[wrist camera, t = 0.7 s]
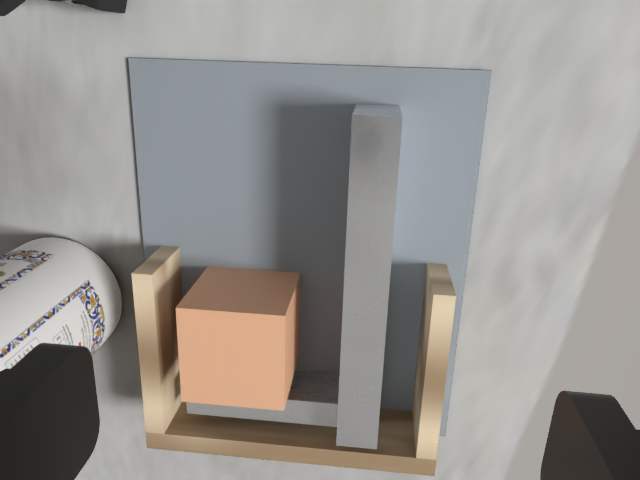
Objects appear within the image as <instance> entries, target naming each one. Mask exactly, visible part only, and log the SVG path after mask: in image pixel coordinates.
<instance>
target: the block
mask: <svg viewBox="0 0 640 480" xmlns="http://www.w3.org/2000/svg"><path fill="white" fill-rule="evenodd" d="M300 274H301V273H297V272H282V271H267V270H253V269H238V268H223V267H207V268H206V270H205V271H204V272H203V273H202V275H201V276H200V277H199V278H198V280H197V281H196V282H195V284H194V285H193V286H192V287H191V289H190V290H189V291H188V293H187V294H186V295H185V296H184V298H183V299H182V300H181V301H180V303H179V304H178V305H177V307H176V323H177V339H178V355H179V371H180V387H181V402H191V403H202V404H213V405H224V406H235V407H246V408H257V409H269V410H280V411H284V410H285V406H286V402H287V399H288V395H289V391H290V387H291V384H292V380H293V376H294V372H295V368H296V365H297V361H298V357H299V325H300Z"/></svg>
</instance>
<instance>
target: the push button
mask: <svg viewBox="0 0 640 480" xmlns="http://www.w3.org/2000/svg"><path fill="white" fill-rule="evenodd" d="M50 1H64V2H66V3H69V4H74V5H80V6H86V5H87V6H89V7H92V8H95V9H98V10H102V11H110V12H118V13H125V9H126V4H127V0H50ZM23 2H25V0H0V16H5V15H7V14H9V13H10V12H11V11H13V10H14V9H15V8H17V7H18V6H19V5H21V4H22V3H23Z"/></svg>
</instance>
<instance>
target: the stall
mask: <svg viewBox="0 0 640 480" xmlns="http://www.w3.org/2000/svg"><path fill="white" fill-rule="evenodd" d="M131 275H132V286H133V297H134V308H135V319H136V330H137V341H138V353H139V364H140V375H141V386H142V397H143V408H144V419H145V430H146V441H147V448H153V449H163V450H174V451H184V452H194V453H204V454H214V455H225V456H235V457H245V458H255V459H266V460H276V461H286V462H296V463H306V464H317V465H327V466H337V467H347V468H357V469H368V470H378V471H388V472H398V473H408V474H419V475H429V476H434V474H435V466H436V458H437V449H438V441H439V433H440V425H441V417H442V409H443V400H444V392H445V384H446V376H447V368H448V359H449V351H450V343H451V335H452V327H453V319H454V310H455V302H456V294H455V290H454V287H453V284H452V280H451V277H450V274H449V270H448V267H447V265H446V264H431V263H427V268H426V278H425V288H424V297H423V307H422V317H421V327H420V337H419V347H418V357H417V367H416V377H415V387H414V397H413V407H412V411H404V410H392V409H381V408H380V415H379V428H378V441H377V449H368V448H357V447H347V446H336V437H337V427H331V426H320V425H309V424H298V423H287V422H276V421H265V420H254V419H244V418H233V417H222V416H211V415H200V414H189V413H187V402H181V387H180V371H179V355H178V339H177V323H176V307H177V305H178V304H179V303H180V301H181V300H182V299H183V297H182V279H181V262H180V247H170V246H161V247H160V248H159V249H158V250H156V251H155V252H154V253H153V254H152V255H151V256H150V257H149V258H148V259H147V260H145V261H144V262H143V263H142V264H141V265H140V266H139V267H138V268H137V269H136V270H135V271H133V272H132V273H131Z"/></svg>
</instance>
